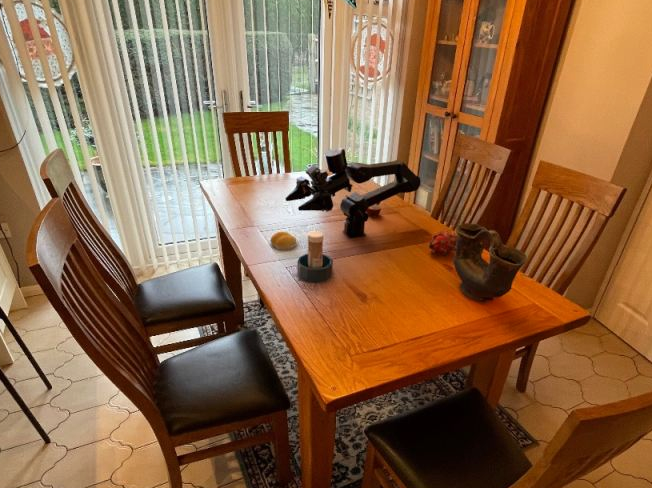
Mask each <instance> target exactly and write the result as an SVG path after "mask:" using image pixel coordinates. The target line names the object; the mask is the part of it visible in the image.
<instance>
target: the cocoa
mask: <svg viewBox="0 0 652 488" xmlns="http://www.w3.org/2000/svg"><path fill="white" fill-rule="evenodd" d="M382 207H383V206H382V205H381V202H379V203H377V204H375V205H373V206H371V207H369V208H368V209H367V211H366V213H367V214H368V215H369V217H372V218H373V217H374V218H375V217H377V216H379V215H380V213H381V211H382Z"/></svg>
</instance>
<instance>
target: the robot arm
mask: <svg viewBox="0 0 652 488" xmlns="http://www.w3.org/2000/svg"><path fill="white" fill-rule="evenodd" d="M323 156H324V159H325V163H326V167H327V170H328V172H329V173H331V175H329V173H328V172H327V171H326V170H324V169H322V170H321V169H320V168H319V167H317V166H316V165H314V164H311V165H310V166H309V167H308V168H307V169H306V170H305V171H304V172H305V174H306V175H308V176H309V178H310V179H311V180H308V179H307V178H305V177H304V176H299V177H297V178H296V182H295V183H296V185H295V187H294V188H293V190H292V191H291V192H290V193H289V194H288V195H287V196H286V197H285V201H286V202H292V201H299V200H304V199H306V198H309V197H311V196H312V197H311V198H310V199H309V200H307V201H305V202H303V203H302V204H301V205H299V206H298V207H297V209H298V211H301V212H303V211H305V212H307V211H311V212H312V211H314V212H317V211H318V212H320V211H321V212H326V213H328V212H330V211H332V210H333V208H334V206H335V205H334V202H333V198H334V197H336V193H338V192H340V191H342V190H345V191H346V192H348V193H351V192H352V188H353V186H354V185H353V184H352V183H351V181H352V182H354V183H356V184H363V183H366V182H369V181H370V180H371V179H372V178H373V179H374V178H378V177H386V176H390V175H394V177H395V178H394V180H393V181H391V182H388V183H386V184H384V185H383V186H379V187H378V188H376V189H375V188H374V189H373V190H371V191H369V192H367V193H365V194H360V193H358V192H356V191H354V192H352V193H351V194H348V195H345V197H344V198H342V199H341V202H340V205H339V207H340V210H341V212H342V213H343V216H345V221H344V224H343V233H344V234H345V235H346V236H347V237H348V238H349V239H355V238H362V237H367V234H366V233H365V225H366V222H368V220H369V217H370V216H369V215H368V214H367V213H366V211H367V209H368V208H369V207H371V206H373V205H375V204H377V203H379V202H380V203H381V202H383V201H386V200H388V199H390V198H392V197H394V196H397V195H399V194H407V193H408V194H409V193H412V192H416V191H418V190H419V188H420V187H421V183H422V181H421V178H420V176H419V175H417V174H415V173H414V172H413V170H411V169H410V168H409V167H408V165H407V164H406V163H405V162H403V161H401V160H398V159H395V160H392V161H385V162H384V161H383V162H377V163H370V164H369V163H363V162H354V161H352V162H349V163H348V160H347V156H346V149H345V148H343V147H339V148H333V149H328V150H326V151H325V152H324V153H323ZM332 197H333V198H332Z"/></svg>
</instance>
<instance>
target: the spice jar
mask: <svg viewBox="0 0 652 488" xmlns="http://www.w3.org/2000/svg"><path fill="white" fill-rule="evenodd" d="M323 243H324V234H323V232H321V231H320V230H319V231H318V230H311V231H309V232H308V233H307V254H308V268H316V269H318V268H322V264H323V254H324V252H323V246H324V244H323Z"/></svg>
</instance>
